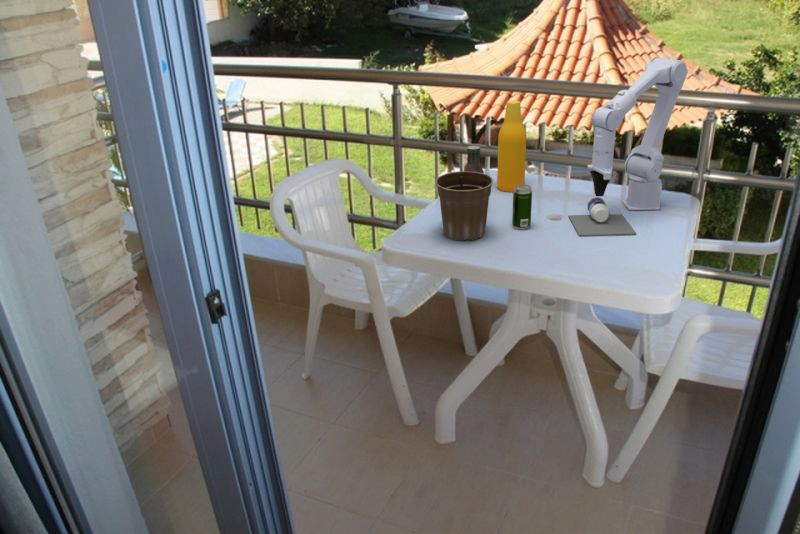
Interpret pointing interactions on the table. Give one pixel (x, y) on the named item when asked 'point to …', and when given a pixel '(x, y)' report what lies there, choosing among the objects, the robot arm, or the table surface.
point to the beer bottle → (511, 149)
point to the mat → (601, 225)
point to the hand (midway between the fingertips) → (599, 195)
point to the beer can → (522, 207)
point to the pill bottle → (598, 209)
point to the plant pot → (464, 203)
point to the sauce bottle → (473, 160)
